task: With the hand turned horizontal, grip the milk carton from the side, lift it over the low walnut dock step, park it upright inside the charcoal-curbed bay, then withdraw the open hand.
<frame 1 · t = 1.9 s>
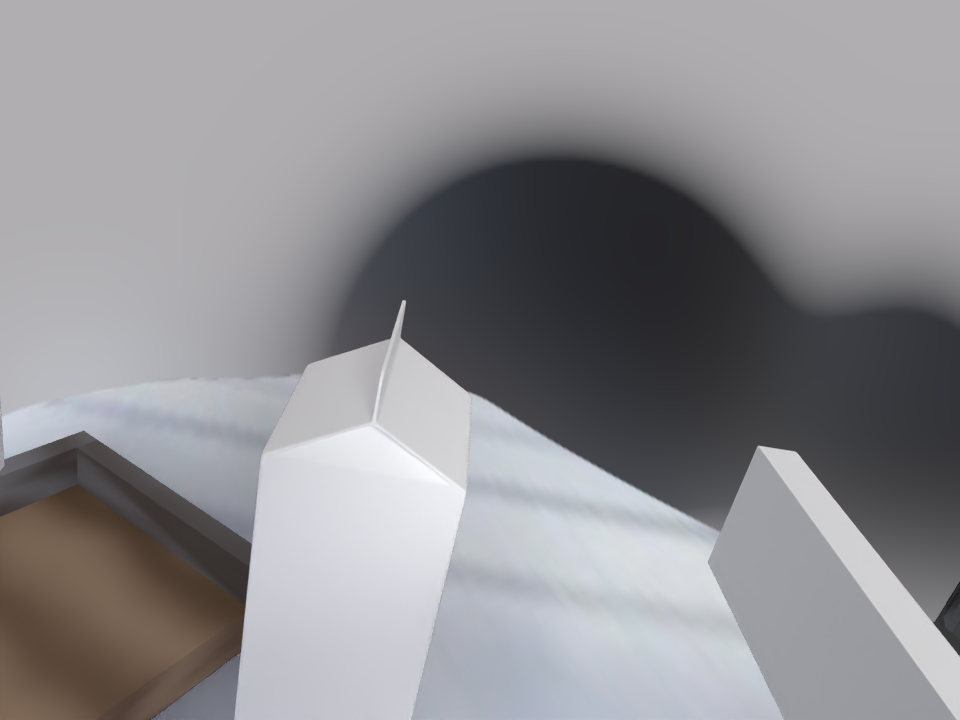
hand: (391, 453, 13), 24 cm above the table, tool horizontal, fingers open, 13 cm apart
dock: (24, 644, 36), on the table
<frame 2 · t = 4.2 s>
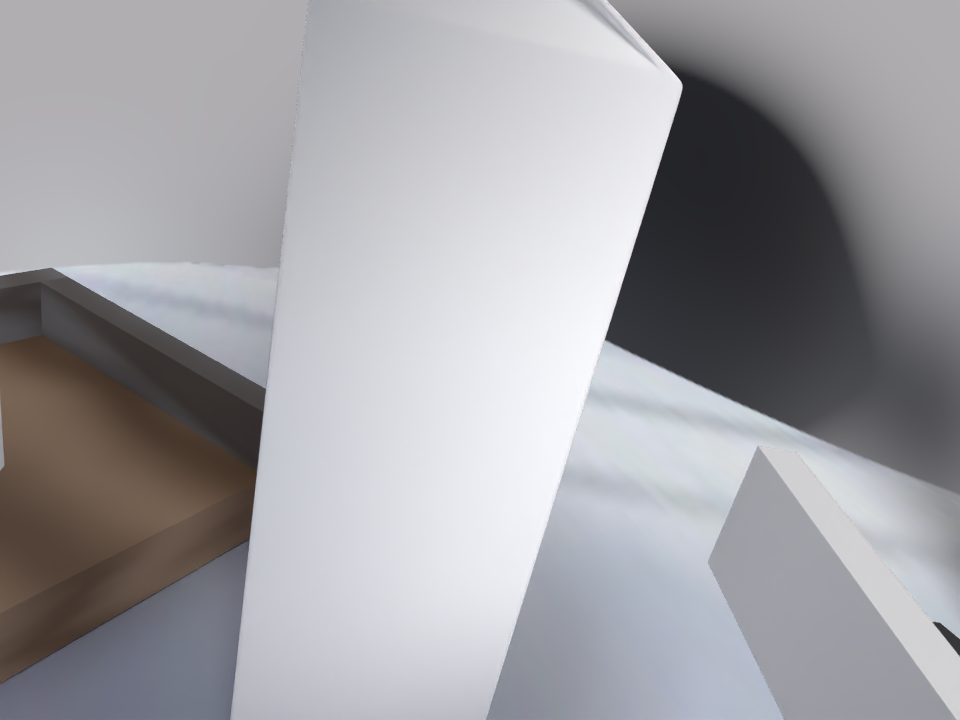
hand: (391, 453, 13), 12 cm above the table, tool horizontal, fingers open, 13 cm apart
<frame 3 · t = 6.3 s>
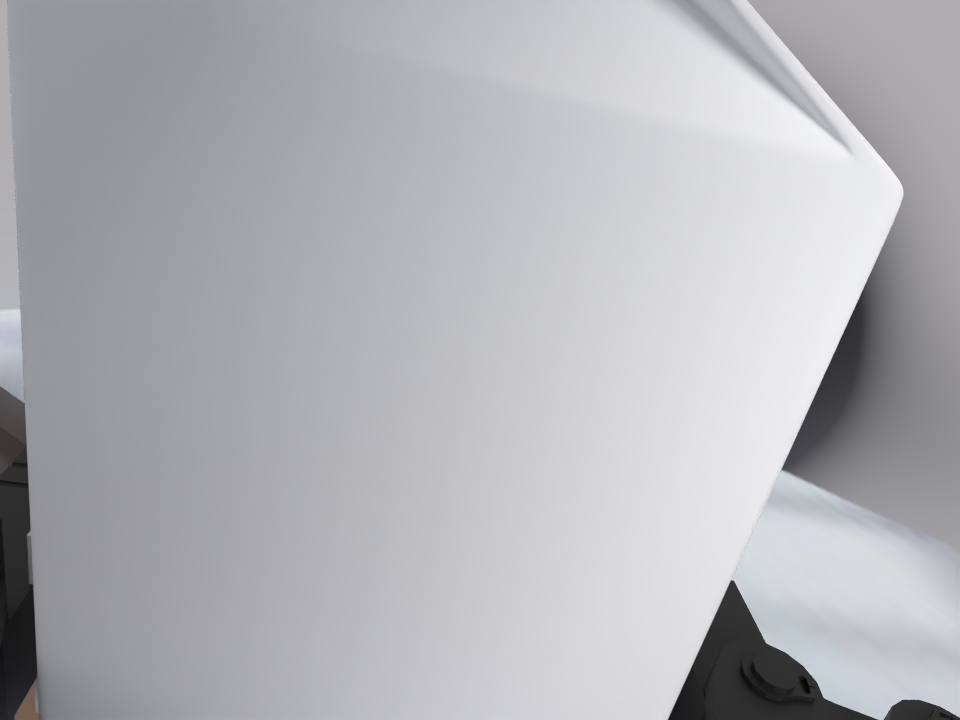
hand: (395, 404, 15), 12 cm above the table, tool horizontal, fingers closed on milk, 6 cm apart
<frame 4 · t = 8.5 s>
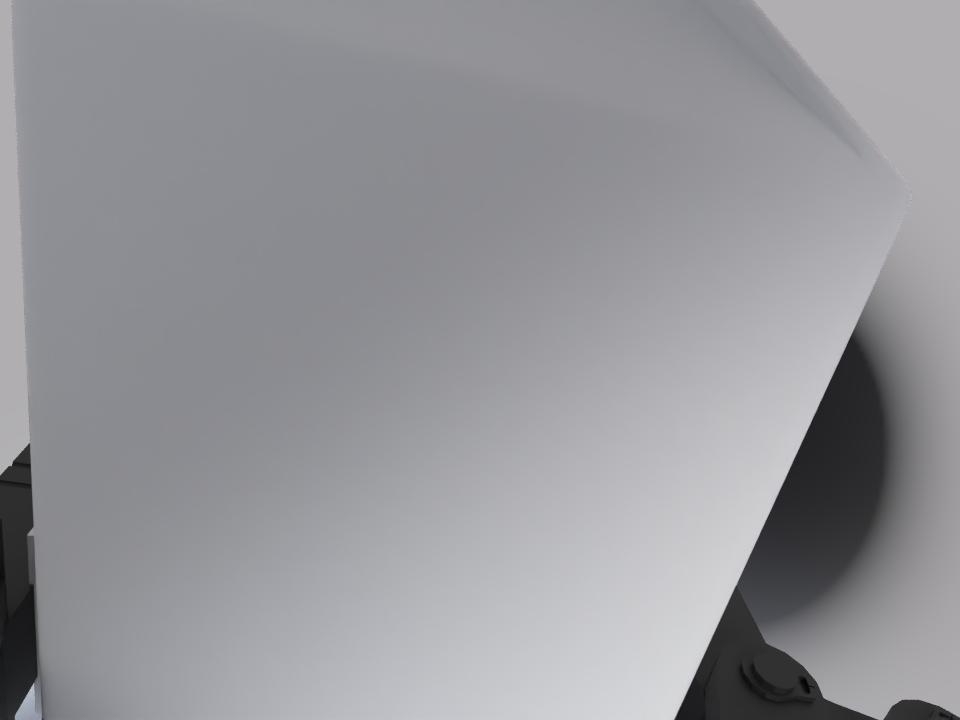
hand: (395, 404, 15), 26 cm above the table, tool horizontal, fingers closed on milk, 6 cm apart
when the fingers open (16 cm above the table, at t = 11.1 s): milk drops 2 cm, resting on dock.
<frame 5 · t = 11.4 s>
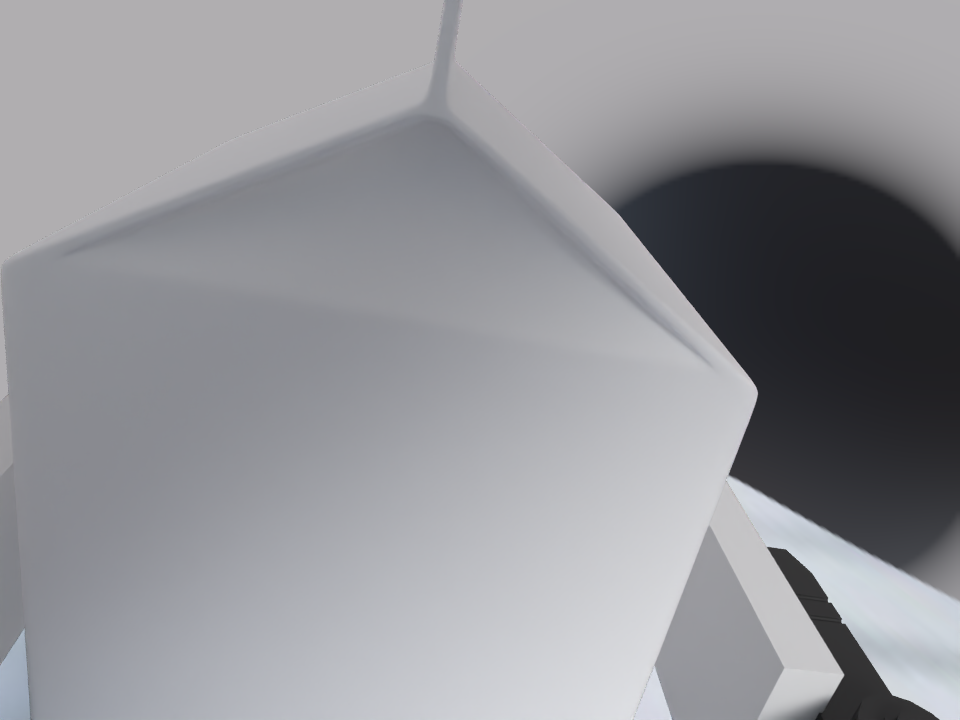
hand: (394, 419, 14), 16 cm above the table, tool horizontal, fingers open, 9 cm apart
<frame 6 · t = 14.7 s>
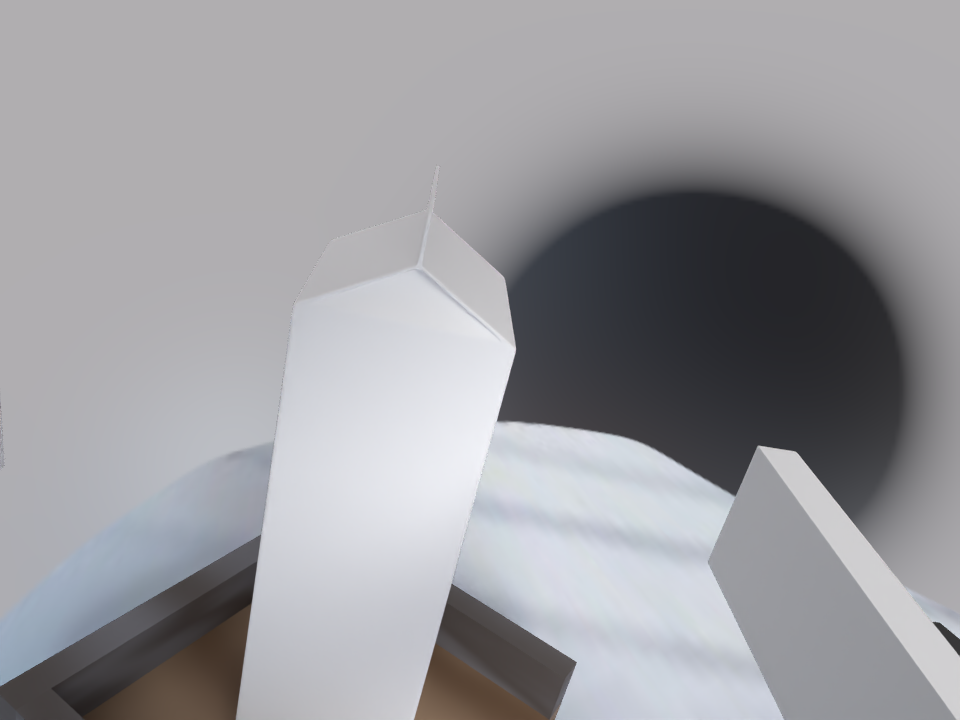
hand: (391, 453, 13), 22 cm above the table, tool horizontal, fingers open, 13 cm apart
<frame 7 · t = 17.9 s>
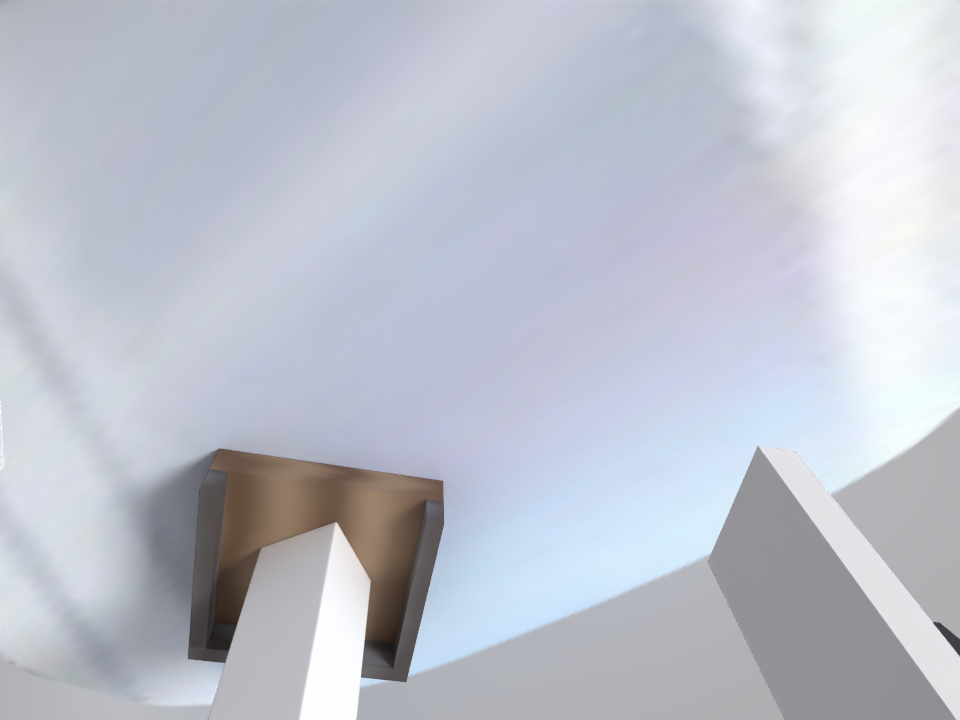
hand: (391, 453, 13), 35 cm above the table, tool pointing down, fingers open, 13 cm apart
dock: (320, 547, 57), on the table
milk: (317, 562, 55), point 2 cm above the table, touching dock
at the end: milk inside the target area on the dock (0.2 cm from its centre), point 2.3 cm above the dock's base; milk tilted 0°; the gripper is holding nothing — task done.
